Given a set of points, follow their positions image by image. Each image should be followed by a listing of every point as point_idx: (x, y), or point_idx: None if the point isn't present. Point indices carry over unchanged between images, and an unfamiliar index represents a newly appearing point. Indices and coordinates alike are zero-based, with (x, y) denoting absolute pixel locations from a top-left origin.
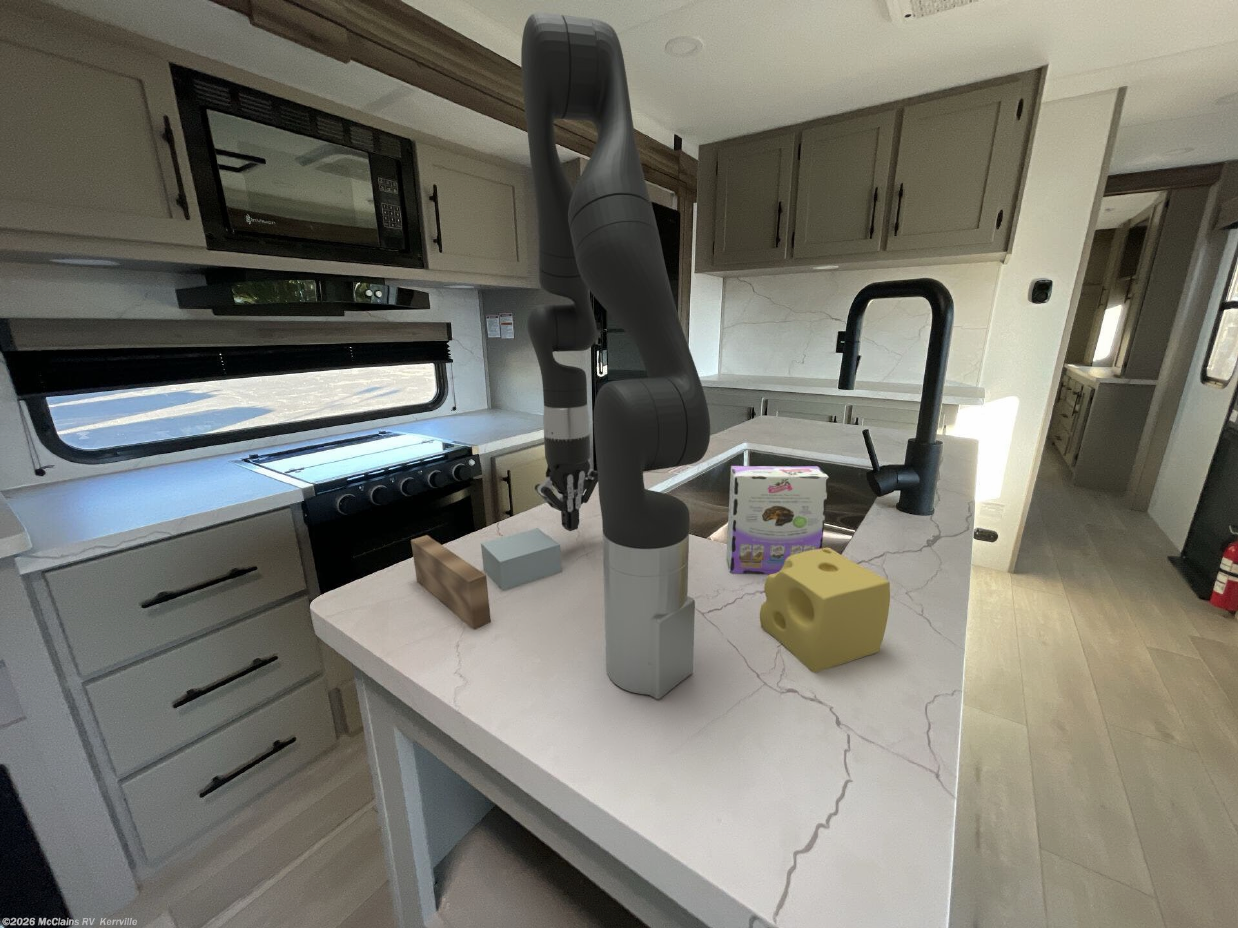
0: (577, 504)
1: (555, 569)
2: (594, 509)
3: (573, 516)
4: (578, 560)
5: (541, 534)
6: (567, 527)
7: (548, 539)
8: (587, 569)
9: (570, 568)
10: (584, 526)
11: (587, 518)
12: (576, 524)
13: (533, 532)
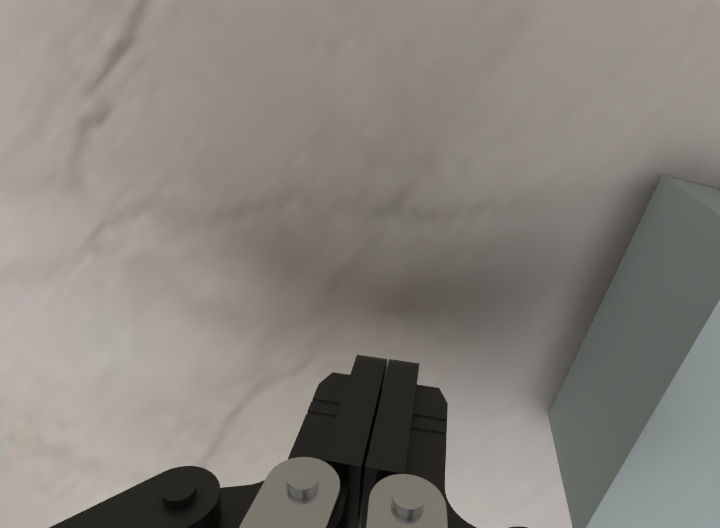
0: (306, 501)
1: (713, 192)
2: (26, 495)
3: (382, 429)
4: (484, 191)
5: (655, 467)
6: (441, 397)
7: (714, 374)
8: (546, 57)
9: (598, 155)
10: (173, 426)
11: (108, 465)
12: (365, 374)
13: (657, 525)
